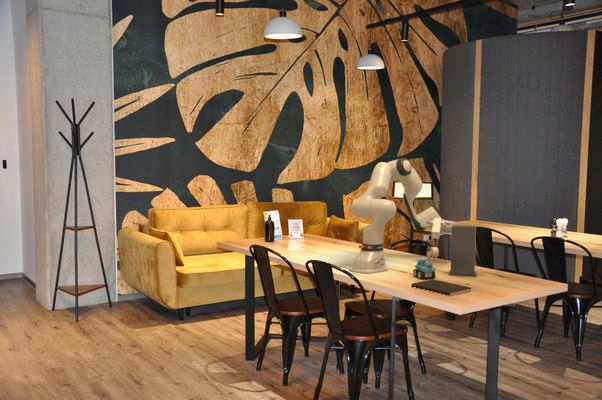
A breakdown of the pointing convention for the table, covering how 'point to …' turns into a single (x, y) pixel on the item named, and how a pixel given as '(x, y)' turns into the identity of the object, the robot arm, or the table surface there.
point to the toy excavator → (426, 265)
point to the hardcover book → (441, 287)
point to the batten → (436, 228)
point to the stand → (463, 250)
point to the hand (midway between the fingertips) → (437, 223)
